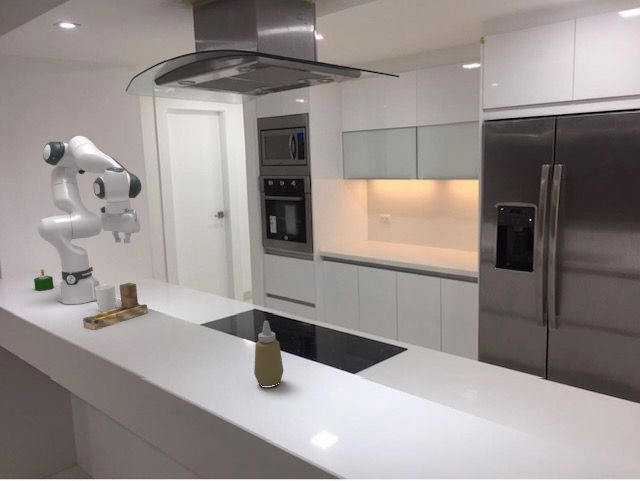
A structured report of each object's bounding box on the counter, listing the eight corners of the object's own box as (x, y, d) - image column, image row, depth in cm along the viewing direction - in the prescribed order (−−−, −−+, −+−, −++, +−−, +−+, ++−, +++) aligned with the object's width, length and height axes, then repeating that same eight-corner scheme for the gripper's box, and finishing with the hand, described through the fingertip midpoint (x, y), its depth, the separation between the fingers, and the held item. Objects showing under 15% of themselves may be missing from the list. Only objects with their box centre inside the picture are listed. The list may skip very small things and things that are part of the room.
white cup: (104, 313, 224) (101, 290, 222) (93, 310, 229) (91, 287, 227) (121, 308, 230) (118, 285, 229) (110, 306, 235) (108, 283, 233)
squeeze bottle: (251, 390, 147) (247, 326, 144) (258, 377, 155) (255, 316, 152) (280, 390, 146) (277, 326, 143) (286, 378, 154) (283, 316, 151)
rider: (131, 307, 223) (129, 282, 221) (138, 309, 220) (136, 283, 219) (122, 310, 219) (119, 285, 218) (129, 312, 217) (126, 286, 215)
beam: (136, 310, 227) (136, 302, 226) (147, 312, 223) (146, 304, 222) (83, 327, 207) (82, 318, 207) (94, 330, 203) (93, 321, 203)
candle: (38, 287, 274) (35, 268, 273) (55, 286, 276) (53, 266, 274) (32, 291, 266) (30, 271, 264) (51, 290, 268) (48, 270, 266)
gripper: (142, 208, 214) (145, 243, 216) (110, 206, 226) (114, 239, 228) (128, 210, 209) (132, 245, 211) (97, 208, 221) (100, 242, 223)
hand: (122, 242), depth 220 cm, fingers open, 4 cm apart
